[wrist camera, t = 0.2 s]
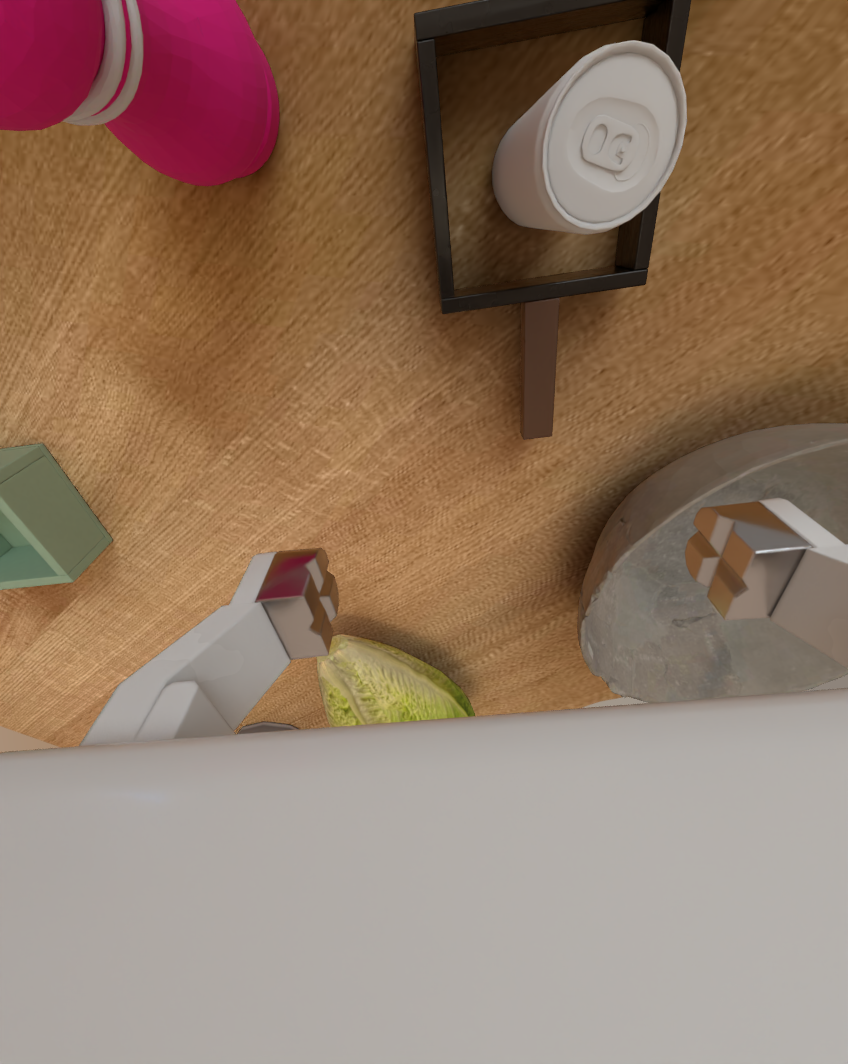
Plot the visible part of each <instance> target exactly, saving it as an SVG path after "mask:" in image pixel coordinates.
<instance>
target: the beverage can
mask: <svg viewBox="0 0 848 1064" xmlns="http://www.w3.org/2000/svg"><path fill="white" fill-rule="evenodd" d="M686 122H687V111H686V94H685V90H684V86H683V82H682V79H681V75H680V73H679V71H678V70H677V68H676V66H675V65H674V63H673V62H672V60H671V59H670V57H669V56H668V55H667V54H666V53H664V52H663V51H661V50H660V49H659V48H657V47H656V46H655V45H653V44H650V43H645V42H640V41H636V40H632V41H626V42H620V43H615V44H609V45H604V46H602V47H600V48H599V49H597V50H595V51H593V52H591V53H590V54H588V55H586V56H584V57H583V58H581V59H580V60H579V61H578V62H577V63H576V64H575V65H574V66H573V67H572V68H571V69H570V70H569V71H568V72H567V73H566V74H564V75H563V76H562V77H561V78H560V79H559V80H558V81H557V82H556V83H555V84H554V85H553V86H552V87H551V88H550V89H549V90H548V91H547V92H546V93H545V94H544V95H543V96H542V97H541V98H540V99H539V100H538V101H537V102H536V103H535V104H534V105H533V106H532V107H531V108H530V109H529V110H528V111H527V112H526V113H525V114H524V115H523V116H522V117H521V118H520V119H519V120H518V121H517V122H515V123H514V124H513V125H512V126H511V127H510V128H509V129H508V131H507V132H506V134H505V135H504V137H503V138H502V140H501V141H500V144H499V146H498V149H497V151H496V154H495V156H494V162H493V168H492V186H493V190H494V194H495V197H496V200H497V202H498V204H499V206H500V208H501V210H502V211H503V212H504V213H505V214H506V216H507V217H508V218H509V219H510V220H511V221H513V222H514V223H516V224H517V225H519V226H524V227H529V228H537V229H545V230H553V231H561V232H569V233H577V234H585V235H588V234H594V233H601V232H606V231H608V230H611V229H613V228H615V227H617V226H619V225H622V224H623V223H625V222H627V221H629V220H631V219H632V218H633V217H635V216H636V215H637V214H638V213H640V212H641V211H642V210H644V209H645V208H646V207H647V206H648V205H649V204H650V202H651V201H652V200H653V199H654V198H655V197H656V196H657V194H658V193H659V192H660V191H661V189H662V188H663V186H664V184H665V183H666V181H667V179H668V178H669V176H670V174H671V173H672V171H673V169H674V166H675V164H676V161H677V158H678V156H679V153H680V150H681V148H682V144H683V139H684V133H685V127H686Z"/></svg>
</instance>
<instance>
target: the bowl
mask: <svg viewBox="0 0 848 1064" xmlns="http://www.w3.org/2000/svg"><path fill="white" fill-rule="evenodd" d="M772 498H782V499H785V500H788V501H789V502H791V503H792V504H793V505H795V506H796V507H797V508H798V509H800V510H801V511H802V512H804V513H805V514H806V515H808V516H809V517H810V518H811V519H813V520H814V521H815V522H817V523H818V524H819V525H821V526H822V527H823V528H824V529H826V530H827V531H828V532H830V533H831V534H832V535H834V536H835V537H836V538H837V539H839V540H840V541H841V542H843V543H844V544H845V545H847V544H848V424H836V423H812V424H799V425H786V426H777V427H772V428H766V429H760V430H754V431H750V432H746V433H743V434H740V435H736V436H733V437H729V438H726V439H723V440H720V441H718V442H715V443H713V444H710V445H707V446H705V447H702V448H699V449H697V450H695V451H693V452H691V453H689V454H687V455H685V456H683V457H681V458H679V459H677V460H675V461H673V462H672V463H670V464H668V465H667V466H665V467H663V468H662V469H660V470H658V471H657V472H655V473H654V474H652V475H651V476H650V477H648V478H647V479H646V480H644V481H643V482H642V483H641V484H639V485H638V486H637V487H636V488H635V489H634V490H633V491H632V492H630V493H629V494H628V495H627V496H626V498H625V499H624V500H623V501H622V502H621V504H620V505H619V506H618V507H617V509H616V510H615V511H614V513H613V514H612V515H611V517H610V518H609V520H608V522H607V523H606V525H605V527H604V529H603V531H602V533H601V535H600V537H599V539H598V541H597V543H596V547H595V550H594V553H593V556H592V559H591V562H590V564H589V567H588V569H587V572H586V575H585V578H584V581H583V584H582V588H581V593H580V597H579V607H578V621H577V627H578V639H579V645H580V648H581V651H582V654H583V658H584V660H585V662H586V664H587V666H588V667H589V669H590V671H591V673H592V674H593V675H595V676H598V677H599V676H601V677H602V679H603V681H605V682H606V684H607V685H608V687H609V688H610V690H611V691H612V692H613V693H615V694H619V695H621V696H622V697H631V698H634V699H638V700H641V701H644V702H648V703H658V702H671V701H684V700H697V699H710V698H723V697H736V696H749V695H762V694H775V693H788V692H801V691H806V690H809V689H812V688H814V687H817V686H819V685H822V684H824V683H827V682H830V681H832V680H835V679H838V678H841V677H842V676H845V675H847V674H848V668H846V667H845V666H843V665H841V664H840V663H838V662H836V661H835V660H833V659H832V658H830V657H828V656H827V655H825V654H824V653H822V652H820V651H819V650H817V649H816V648H814V647H812V646H811V645H809V644H807V643H806V642H804V641H803V640H801V639H799V638H798V637H796V636H795V635H793V634H791V633H790V632H788V631H787V630H785V629H783V628H782V627H780V626H778V625H777V624H775V623H774V622H772V621H770V620H769V619H770V618H758V619H742V620H726V621H725V620H724V618H723V617H722V616H721V615H720V613H719V612H718V611H717V609H716V608H715V607H714V605H713V604H712V603H711V601H710V600H709V599H708V597H707V595H708V590H709V588H707V587H705V586H703V585H701V584H699V583H697V582H696V581H695V580H694V579H693V577H692V576H691V575H690V573H689V571H688V568H687V566H686V560H685V549H686V545H687V542H688V540H689V539H690V538H691V537H692V536H693V535H694V534H695V533H696V532H697V531H698V530H697V529H696V527H695V526H694V524H693V522H694V519H695V516H696V514H697V512H698V511H699V510H700V509H701V508H702V507H711V506H720V505H729V504H738V503H747V502H752V501H757V500H765V499H772Z"/></svg>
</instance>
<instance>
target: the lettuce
mask: <svg viewBox="0 0 848 1064" xmlns="http://www.w3.org/2000/svg"><path fill="white" fill-rule="evenodd" d="M316 658H317V674H318V681H319V687H320V691H321V696H322V700H323V704H324V708H325V712H326V715H327V719H328V723H329V724H330V726H331V727H339V726H352V725H365V724H379V723H392V722H405V721H418V720H432V719H445V718H458V717H471V716H475V713H474V711H473V708H472V706H471V703H470V701H469V699H468V698H467V696H466V695H465V694H464V692H463V691H462V689H461V688H460V687H459V686H458V685H457V684H455V683H454V682H453V681H452V680H451V679H450V678H448V677H447V676H446V675H445V674H443V673H442V672H441V671H440V670H438V669H436V668H434V667H432V666H430V665H429V664H427V663H425V662H423V661H421V660H419V659H417V658H415V657H413V656H411V655H409V654H407V653H405V652H403V651H401V650H400V649H398V648H396V647H393V646H390V645H387V644H383V643H380V642H377V641H373V640H369V639H365V638H361V637H356V636H351V635H343V634H339V635H336V636H334V637H332V641H331V645H330V650H329V655H328V656H319V657H316Z"/></svg>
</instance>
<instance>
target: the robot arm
mask: <svg viewBox="0 0 848 1064" xmlns="http://www.w3.org/2000/svg"><path fill="white" fill-rule="evenodd" d="M693 524H694V526H695V527H696V529H697V530H698V531H697V532H696V533H695V534H694V535H693V536H692V537H691V538H690V539H689V540H688V542H687V545H686V549H685V560H686V566H687V568H688V571H689V573H690V575H691V576H692V577H693V579H694V580H695V581H696V582H697V583H699V584H701V585H703V586H705V587H707V588H709V590H708V595H707V597H708V599H709V600H710V601H711V603H712V604H713V605H714V607H715V608H716V609H717V611H718V612H719V613H720V615H721V616H722V617H723V618H724V620H725V621H726V620H742V619H758V618H770V619H769V620H770V621H772V622H774V623H775V624H777V625H778V626H780V627H782V628H783V629H785V630H787V631H788V632H790V633H791V634H793V635H795V636H796V637H798V638H799V639H801V640H803V641H804V642H806V643H807V644H809V645H811V646H812V647H814V648H816V649H817V650H819V651H820V652H822V653H824V654H825V655H827V656H828V657H830V658H832V659H833V660H835V661H836V662H838V663H840V664H841V665H843V666H845V667H846V668H848V544H847V545H845V544H844V543H843V542H841V541H840V540H839V539H837V538H836V537H835V536H834V535H832V534H831V533H830V532H828V531H827V530H826V529H824V528H823V527H822V526H821V525H819V524H818V523H817V522H815V521H814V520H813V519H811V518H810V517H809V516H808V515H806V514H805V513H804V512H802V511H801V510H800V509H798V508H797V507H796V506H795V505H793V504H792V503H791V502H789V501H788V500H785V499H782V498H772V499H765V500H757V501H752V502H747V503H738V504H729V505H720V506H711V507H702V508H701V509H700V510H699V511H698V512H697V514H696V516H695V519H694V522H693ZM328 564H329V560H328V557H327V555H326V552H325V550H324V549H322V548H312V549H300V550H289V551H279V552H268V553H258V554H256V555H255V556H253V557H252V559H251V561H250V563H249V565H248V567H247V569H246V571H245V573H244V575H243V577H242V580H241V582H240V584H239V586H238V588H237V590H236V592H235V594H234V596H233V598H232V600H231V602H230V604H229V605H226V606H221V607H220V608H219V609H217V610H216V611H215V612H213V613H212V614H211V615H209V616H208V617H207V618H206V619H204V620H203V621H202V622H200V623H199V624H198V625H196V626H195V627H194V628H192V629H191V630H190V631H188V632H187V633H186V634H184V635H183V636H182V637H181V638H179V639H178V640H177V641H175V642H174V643H173V644H171V645H170V646H169V647H167V648H166V649H165V650H163V651H162V652H161V653H159V654H158V655H157V656H156V657H154V658H153V659H152V660H150V661H149V662H148V663H146V664H145V665H144V666H142V667H141V668H140V669H138V670H137V671H136V672H135V673H133V674H132V675H131V676H129V677H128V678H127V679H125V680H124V681H123V682H121V683H120V684H119V685H118V686H117V688H116V689H115V691H114V692H113V694H112V695H111V697H110V699H109V700H108V702H107V703H106V705H105V706H104V708H103V709H102V711H101V713H100V714H99V716H98V717H97V719H96V720H95V722H94V723H93V725H92V726H91V728H90V730H89V731H88V733H87V734H86V736H85V737H84V739H83V740H82V742H81V743H80V745H79V746H75V747H61V748H49V749H35V750H23V751H9V752H0V1064H848V688H841V689H828V690H814V691H801V692H788V693H775V694H762V695H749V696H736V697H723V698H710V699H697V700H684V701H671V702H658V703H645V704H633V705H619V706H605V707H591V708H578V709H565V710H551V711H538V712H525V713H511V714H498V715H485V716H471V717H458V718H445V719H432V720H418V721H405V722H392V723H379V724H365V725H352V726H339V727H326V728H313V729H299V730H286V731H273V732H260V733H246V734H236V733H235V732H234V730H235V729H236V728H237V727H238V725H239V724H240V723H241V722H242V721H243V719H244V718H245V717H246V716H247V715H248V713H249V712H250V711H251V710H252V709H253V707H254V706H255V705H256V704H257V702H258V701H259V700H260V699H261V698H262V696H263V695H264V694H265V693H266V692H267V690H268V689H269V688H270V687H271V686H272V684H273V683H274V682H275V681H276V679H277V678H278V677H279V676H280V675H281V673H282V672H283V671H284V670H285V669H286V667H287V666H288V665H289V664H290V663H291V661H290V660H293V659H302V658H311V657H319V656H328V655H329V650H330V645H331V641H332V636H333V628H332V626H331V623H330V622H331V621H332V620H333V619H334V618H335V617H336V616H337V612H338V606H339V593H338V588H337V583H336V580H335V577H334V576H333V575H332V574H331V573H329V572H328V571H327V568H328Z"/></svg>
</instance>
